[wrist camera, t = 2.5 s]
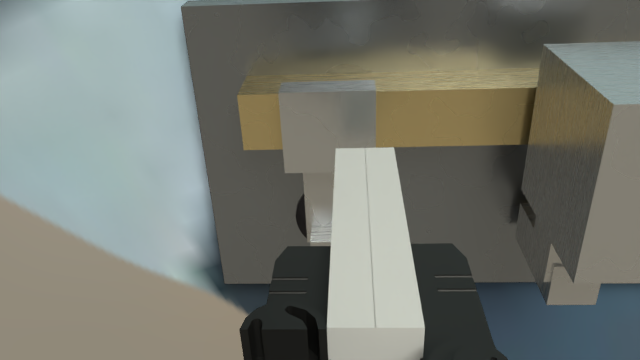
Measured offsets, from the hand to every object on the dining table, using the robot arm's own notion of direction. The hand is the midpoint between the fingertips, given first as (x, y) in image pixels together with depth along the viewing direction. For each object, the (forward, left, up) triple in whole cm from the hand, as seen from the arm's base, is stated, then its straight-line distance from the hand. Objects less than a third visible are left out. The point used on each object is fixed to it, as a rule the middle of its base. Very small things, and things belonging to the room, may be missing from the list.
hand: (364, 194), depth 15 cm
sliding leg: (+1, +7, -6) cm, 9 cm away
